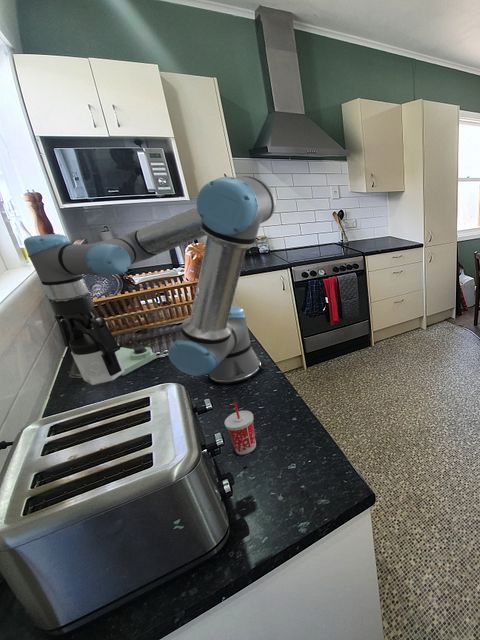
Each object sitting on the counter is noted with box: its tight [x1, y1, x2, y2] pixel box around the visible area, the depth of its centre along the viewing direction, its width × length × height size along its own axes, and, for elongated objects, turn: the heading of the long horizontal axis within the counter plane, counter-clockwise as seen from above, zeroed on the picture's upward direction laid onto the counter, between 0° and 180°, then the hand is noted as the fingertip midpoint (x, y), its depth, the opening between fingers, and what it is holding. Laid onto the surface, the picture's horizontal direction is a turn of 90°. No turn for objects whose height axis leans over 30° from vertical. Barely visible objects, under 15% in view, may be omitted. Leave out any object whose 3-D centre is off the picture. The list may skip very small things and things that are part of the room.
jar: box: [69, 334, 125, 386], centre depth 96 cm, size 9×8×12 cm
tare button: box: [133, 345, 146, 354], centre depth 119 cm, size 3×3×2 cm
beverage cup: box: [224, 400, 257, 455], centre depth 83 cm, size 6×6×14 cm
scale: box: [117, 346, 158, 377], centre depth 118 cm, size 15×12×4 cm
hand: (102, 370), depth 98 cm, fingers closed on jar, 9 cm apart
